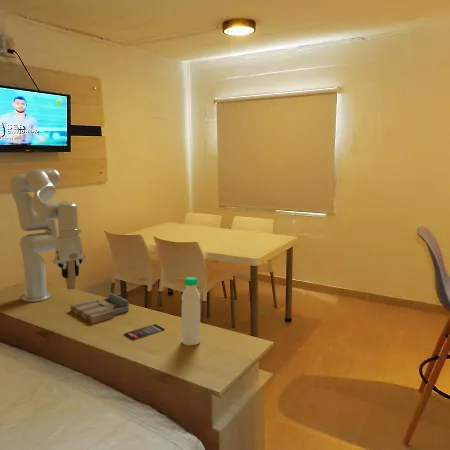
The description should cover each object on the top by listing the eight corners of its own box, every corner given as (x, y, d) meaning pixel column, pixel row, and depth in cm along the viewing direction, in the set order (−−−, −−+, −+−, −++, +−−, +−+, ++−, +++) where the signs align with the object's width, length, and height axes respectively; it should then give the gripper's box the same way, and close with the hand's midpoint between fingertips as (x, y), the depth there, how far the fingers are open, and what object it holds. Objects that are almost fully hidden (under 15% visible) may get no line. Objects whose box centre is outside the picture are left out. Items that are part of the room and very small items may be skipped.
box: (94, 306, 190) (93, 296, 190) (110, 302, 196) (109, 292, 195) (112, 316, 179) (112, 305, 179) (128, 311, 185) (128, 300, 184)
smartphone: (122, 333, 161) (155, 323, 171) (122, 335, 161) (155, 325, 171) (132, 340, 156) (165, 329, 166) (132, 341, 156) (165, 331, 166)
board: (70, 311, 185) (70, 304, 184) (91, 305, 192) (91, 299, 191) (92, 323, 171) (92, 317, 170) (114, 317, 178) (114, 310, 177)
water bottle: (183, 347, 151) (183, 281, 147) (179, 339, 158) (179, 276, 154) (202, 345, 153) (202, 280, 149) (197, 337, 160) (198, 274, 156)
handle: (66, 286, 175) (65, 251, 173) (81, 287, 174) (80, 252, 172) (60, 289, 170) (59, 254, 168) (75, 290, 170) (74, 255, 167)
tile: (98, 302, 186) (100, 298, 186) (106, 306, 189) (108, 302, 190) (104, 305, 183) (106, 301, 183) (112, 309, 186) (114, 305, 187)
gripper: (83, 229, 177) (85, 271, 180) (44, 234, 166) (46, 278, 168) (92, 232, 172) (93, 274, 175) (52, 237, 160) (54, 282, 163)
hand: (70, 276), depth 172 cm, fingers closed on handle, 4 cm apart
